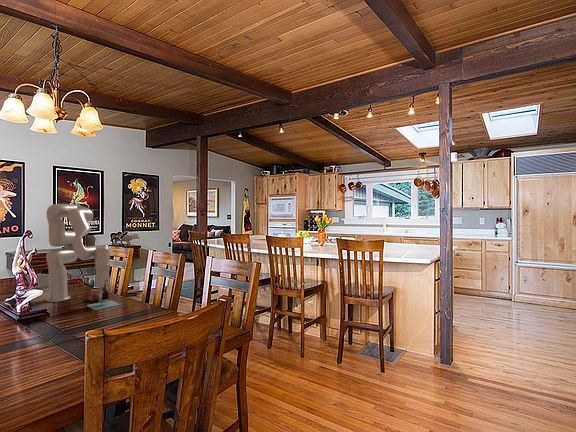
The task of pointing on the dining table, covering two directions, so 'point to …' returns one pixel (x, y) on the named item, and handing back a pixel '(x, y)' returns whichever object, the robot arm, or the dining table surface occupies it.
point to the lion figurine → (95, 293)
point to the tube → (101, 296)
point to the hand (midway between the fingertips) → (103, 298)
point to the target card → (103, 305)
